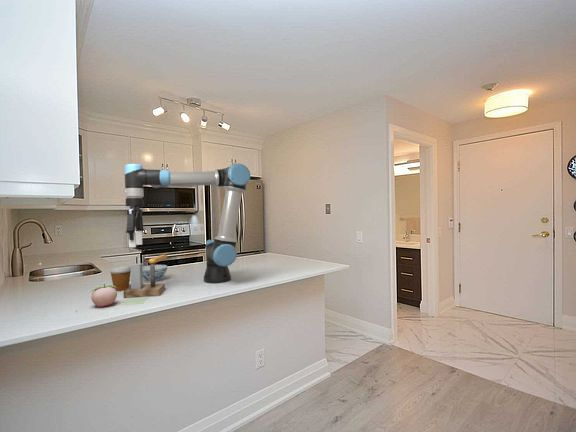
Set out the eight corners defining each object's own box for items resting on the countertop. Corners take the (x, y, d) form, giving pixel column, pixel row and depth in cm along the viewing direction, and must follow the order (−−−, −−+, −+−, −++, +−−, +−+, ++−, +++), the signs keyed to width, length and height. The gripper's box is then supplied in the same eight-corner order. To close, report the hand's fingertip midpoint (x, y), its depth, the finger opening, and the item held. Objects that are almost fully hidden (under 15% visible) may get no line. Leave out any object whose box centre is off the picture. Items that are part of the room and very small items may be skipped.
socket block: (164, 291, 150) (164, 261, 150) (159, 298, 139) (158, 265, 138) (132, 293, 148) (131, 262, 147) (123, 300, 136) (122, 267, 135)
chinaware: (165, 276, 184) (164, 263, 184) (169, 281, 171) (169, 267, 171) (137, 279, 176) (137, 266, 176) (140, 285, 164) (139, 270, 163)
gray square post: (143, 292, 145) (142, 263, 144) (140, 294, 141) (139, 264, 140) (134, 293, 144) (133, 263, 144) (131, 295, 140) (130, 265, 140)
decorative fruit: (96, 313, 119) (95, 287, 119) (89, 309, 125) (88, 284, 124) (121, 307, 126) (120, 283, 126) (114, 303, 132) (113, 280, 132)
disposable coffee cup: (122, 294, 146) (122, 269, 145) (105, 293, 148) (104, 269, 147) (136, 289, 155) (135, 265, 155) (120, 288, 157) (119, 265, 157)
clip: (154, 263, 142) (153, 259, 142) (148, 263, 142) (147, 259, 142) (167, 258, 157) (167, 254, 157) (162, 258, 157) (162, 254, 157)
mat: (149, 299, 136) (149, 297, 136) (143, 306, 127) (143, 303, 127) (127, 301, 135) (127, 298, 135) (120, 307, 126) (119, 305, 126)
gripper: (133, 198, 152) (134, 243, 152) (117, 196, 130) (118, 249, 130) (149, 198, 153) (150, 243, 153) (135, 196, 131) (137, 248, 132)
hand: (135, 245), depth 142 cm, fingers open, 9 cm apart
